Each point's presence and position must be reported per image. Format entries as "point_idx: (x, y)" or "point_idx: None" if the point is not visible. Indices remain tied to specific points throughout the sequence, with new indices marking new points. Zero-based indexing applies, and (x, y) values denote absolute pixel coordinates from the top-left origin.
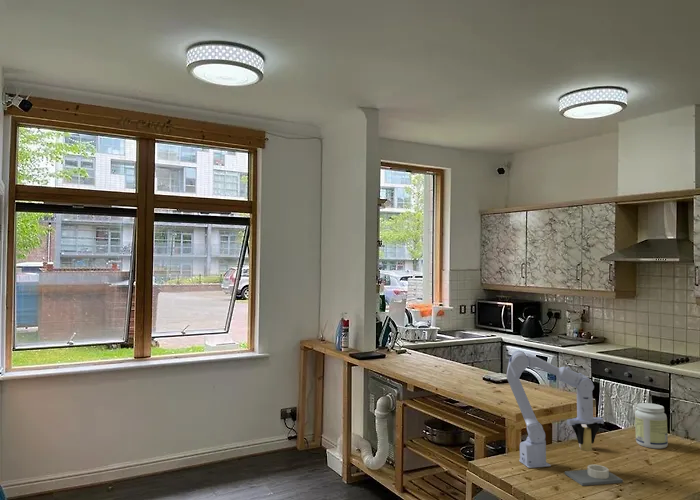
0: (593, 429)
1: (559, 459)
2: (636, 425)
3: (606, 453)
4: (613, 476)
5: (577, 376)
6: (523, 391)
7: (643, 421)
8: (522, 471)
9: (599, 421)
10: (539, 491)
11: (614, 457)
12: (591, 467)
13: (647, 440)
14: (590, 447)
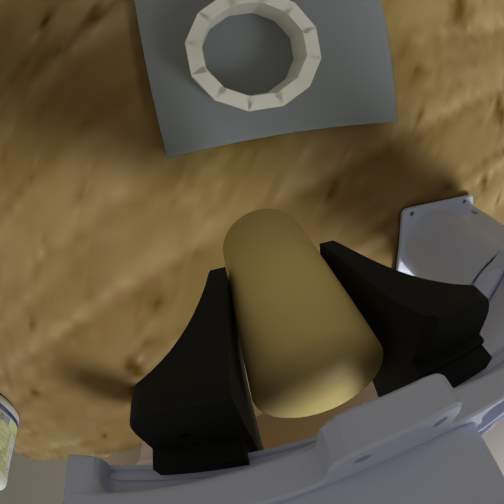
0: (233, 365)
1: None
2: (4, 451)
3: (96, 364)
4: (164, 35)
5: None
6: None
7: None
8: (491, 168)
9: (119, 487)
10: (497, 12)
11: (71, 331)
12: (276, 90)
13: None
14: (249, 227)
